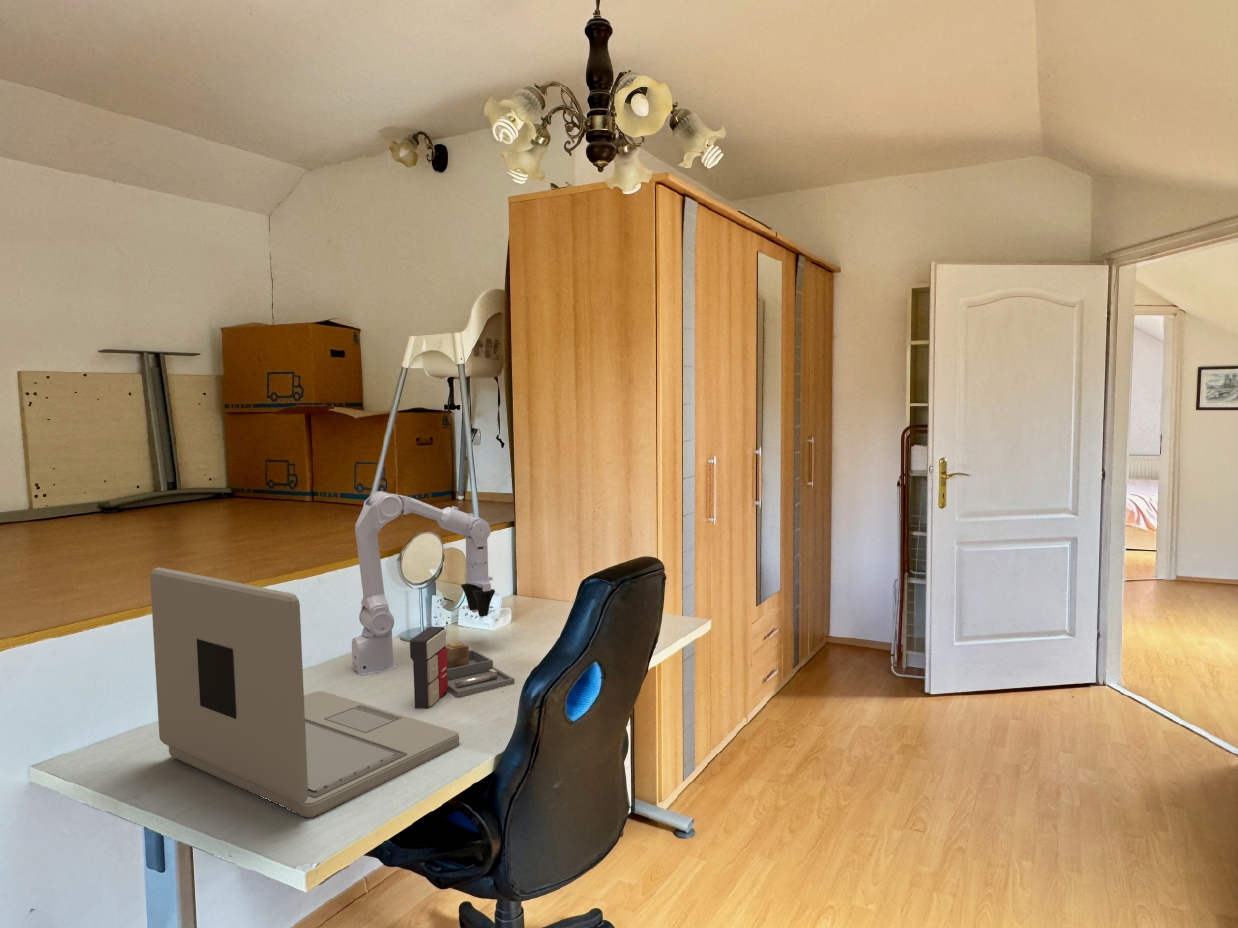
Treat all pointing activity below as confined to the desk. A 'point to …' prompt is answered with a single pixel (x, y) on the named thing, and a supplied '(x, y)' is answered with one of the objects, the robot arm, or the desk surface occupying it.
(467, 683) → the rod
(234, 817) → the desk surface
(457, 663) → the module block
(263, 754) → the laptop
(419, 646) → the drawer chest
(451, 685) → the case lid open
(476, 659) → the case
